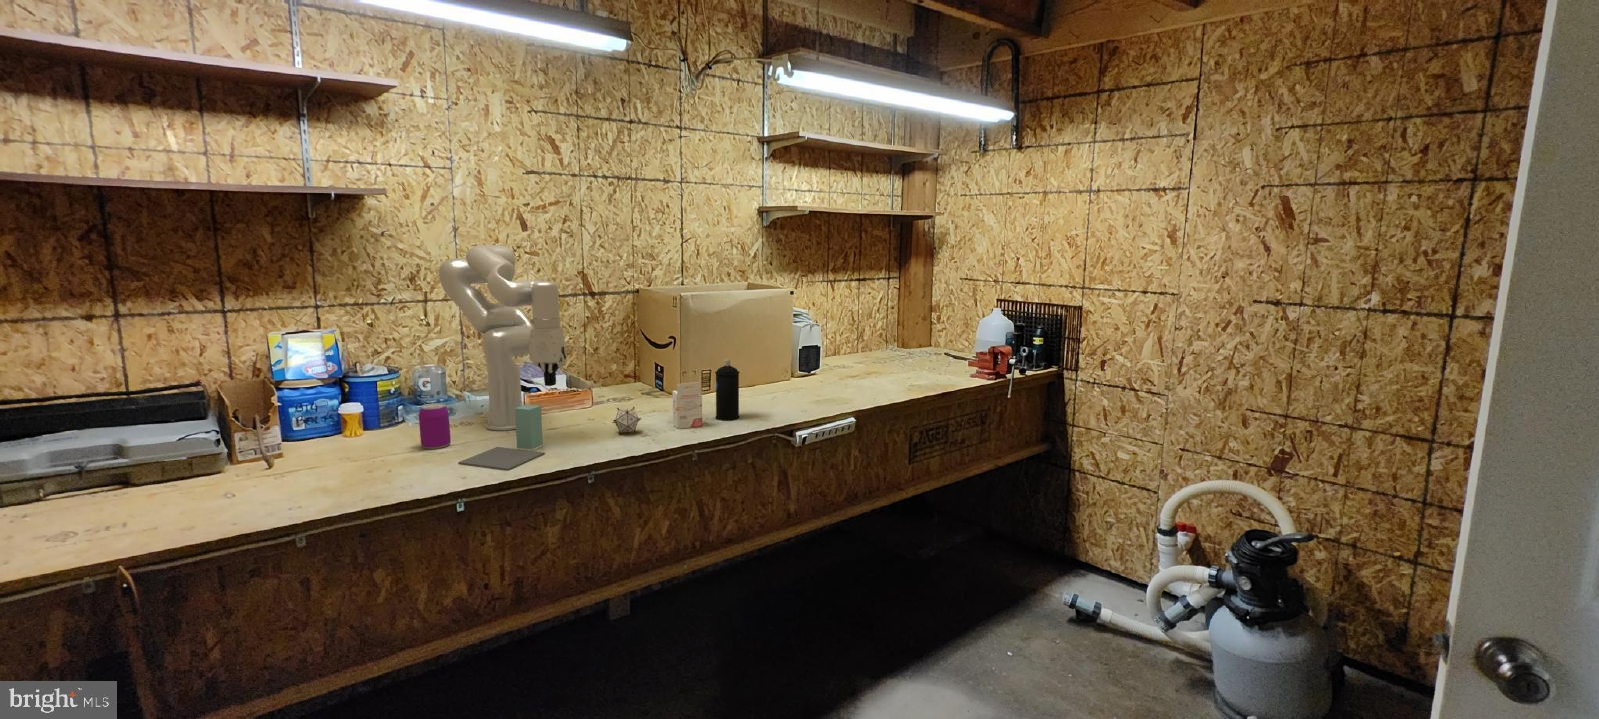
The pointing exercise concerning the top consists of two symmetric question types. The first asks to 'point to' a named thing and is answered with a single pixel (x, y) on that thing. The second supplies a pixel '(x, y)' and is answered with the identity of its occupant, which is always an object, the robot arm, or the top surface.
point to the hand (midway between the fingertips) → (550, 385)
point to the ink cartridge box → (687, 406)
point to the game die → (626, 420)
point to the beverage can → (434, 426)
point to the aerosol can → (727, 392)
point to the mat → (502, 458)
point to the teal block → (528, 427)
